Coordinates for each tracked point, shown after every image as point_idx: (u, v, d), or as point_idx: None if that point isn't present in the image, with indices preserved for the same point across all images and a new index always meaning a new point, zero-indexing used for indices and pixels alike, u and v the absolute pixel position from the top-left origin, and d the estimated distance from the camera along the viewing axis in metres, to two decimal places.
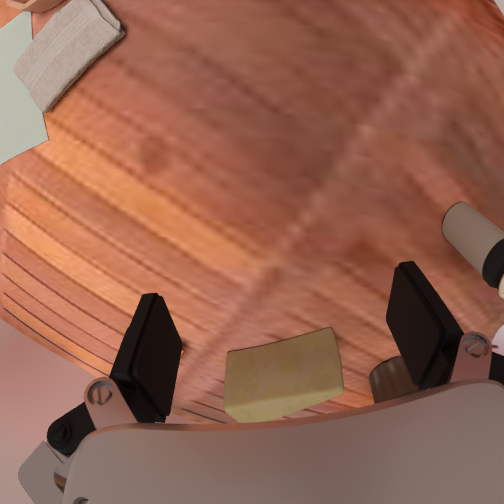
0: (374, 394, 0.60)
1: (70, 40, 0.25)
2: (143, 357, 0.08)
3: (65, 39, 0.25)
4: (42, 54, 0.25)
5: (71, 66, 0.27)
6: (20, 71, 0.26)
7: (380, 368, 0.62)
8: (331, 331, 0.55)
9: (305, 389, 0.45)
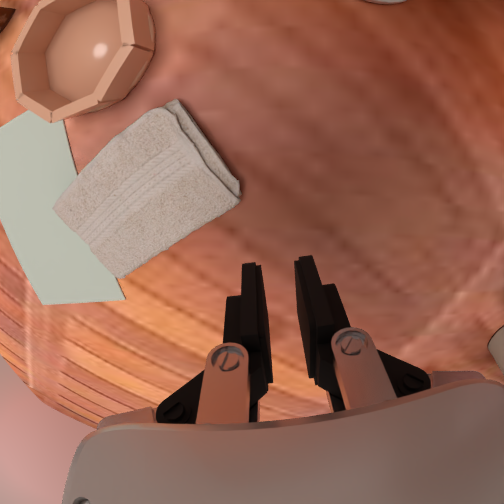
0: None
1: (154, 194, 0.25)
2: (264, 319, 0.09)
3: (142, 189, 0.25)
4: (104, 204, 0.25)
5: (162, 236, 0.27)
6: (68, 218, 0.26)
7: None
8: None
9: None
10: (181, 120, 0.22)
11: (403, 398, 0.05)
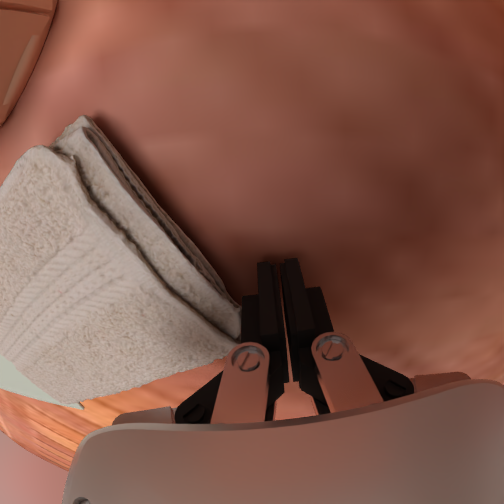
0: None
1: (70, 326, 0.11)
2: None
3: (49, 314, 0.11)
4: (4, 324, 0.11)
5: (104, 383, 0.13)
6: None
7: None
8: None
9: None
10: (90, 171, 0.08)
11: (403, 398, 0.05)
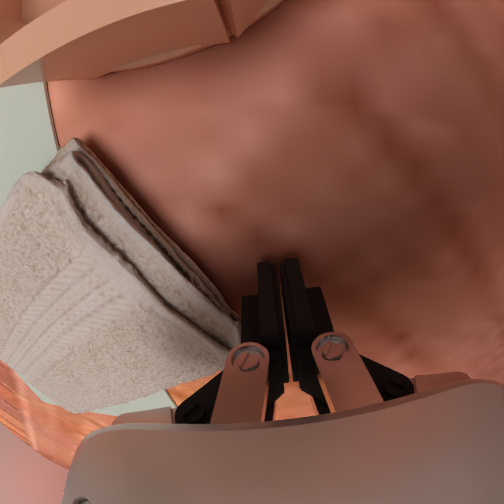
0: None
1: (75, 341, 0.11)
2: None
3: (55, 330, 0.11)
4: (12, 339, 0.11)
5: (112, 394, 0.13)
6: None
7: None
8: None
9: None
10: (83, 195, 0.08)
11: (403, 398, 0.05)
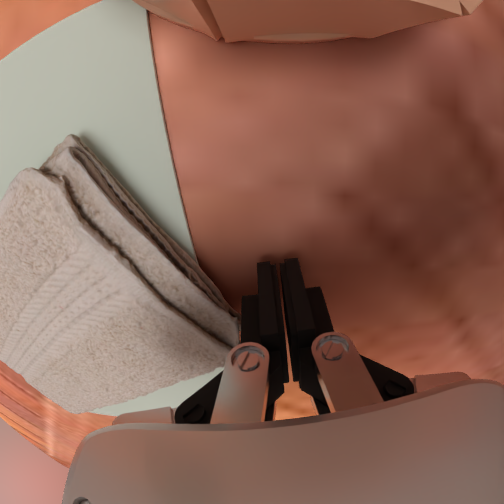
0: None
1: (73, 339, 0.11)
2: None
3: (53, 329, 0.11)
4: (11, 338, 0.11)
5: (111, 393, 0.13)
6: None
7: None
8: None
9: None
10: (80, 191, 0.08)
11: (403, 398, 0.05)
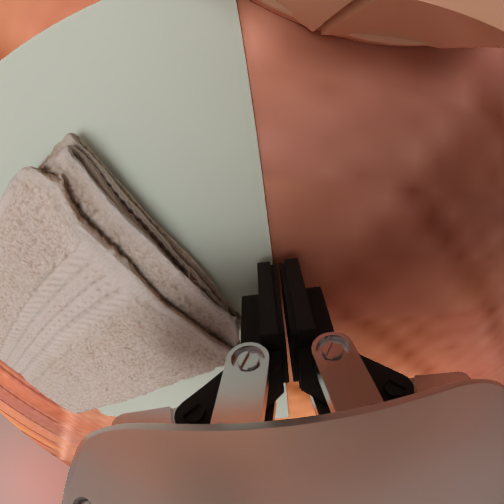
0: None
1: (72, 338, 0.11)
2: None
3: (52, 328, 0.11)
4: (10, 337, 0.11)
5: (110, 392, 0.13)
6: None
7: None
8: None
9: None
10: (79, 189, 0.08)
11: (403, 398, 0.05)
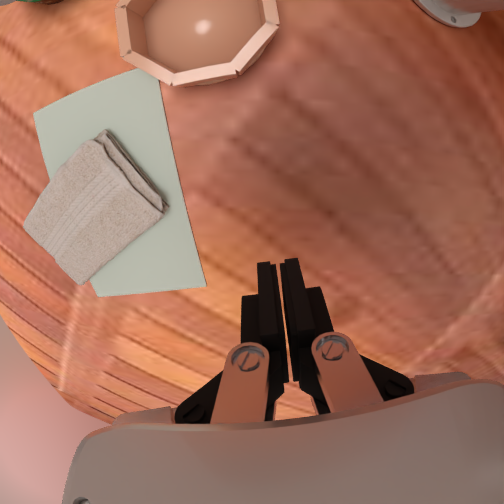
0: None
1: (94, 213, 0.27)
2: None
3: (86, 209, 0.27)
4: (59, 222, 0.28)
5: (106, 248, 0.29)
6: (34, 235, 0.28)
7: None
8: None
9: None
10: (108, 148, 0.25)
11: (403, 398, 0.05)
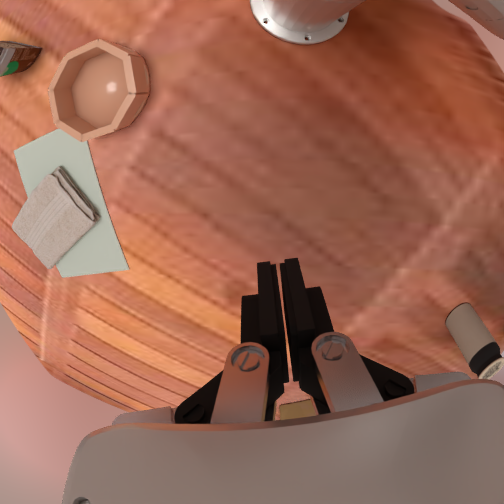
0: None
1: (55, 220, 0.39)
2: (282, 319, 0.09)
3: (49, 218, 0.38)
4: (34, 226, 0.39)
5: (62, 244, 0.41)
6: (19, 233, 0.39)
7: None
8: None
9: None
10: (60, 179, 0.36)
11: (403, 398, 0.05)
